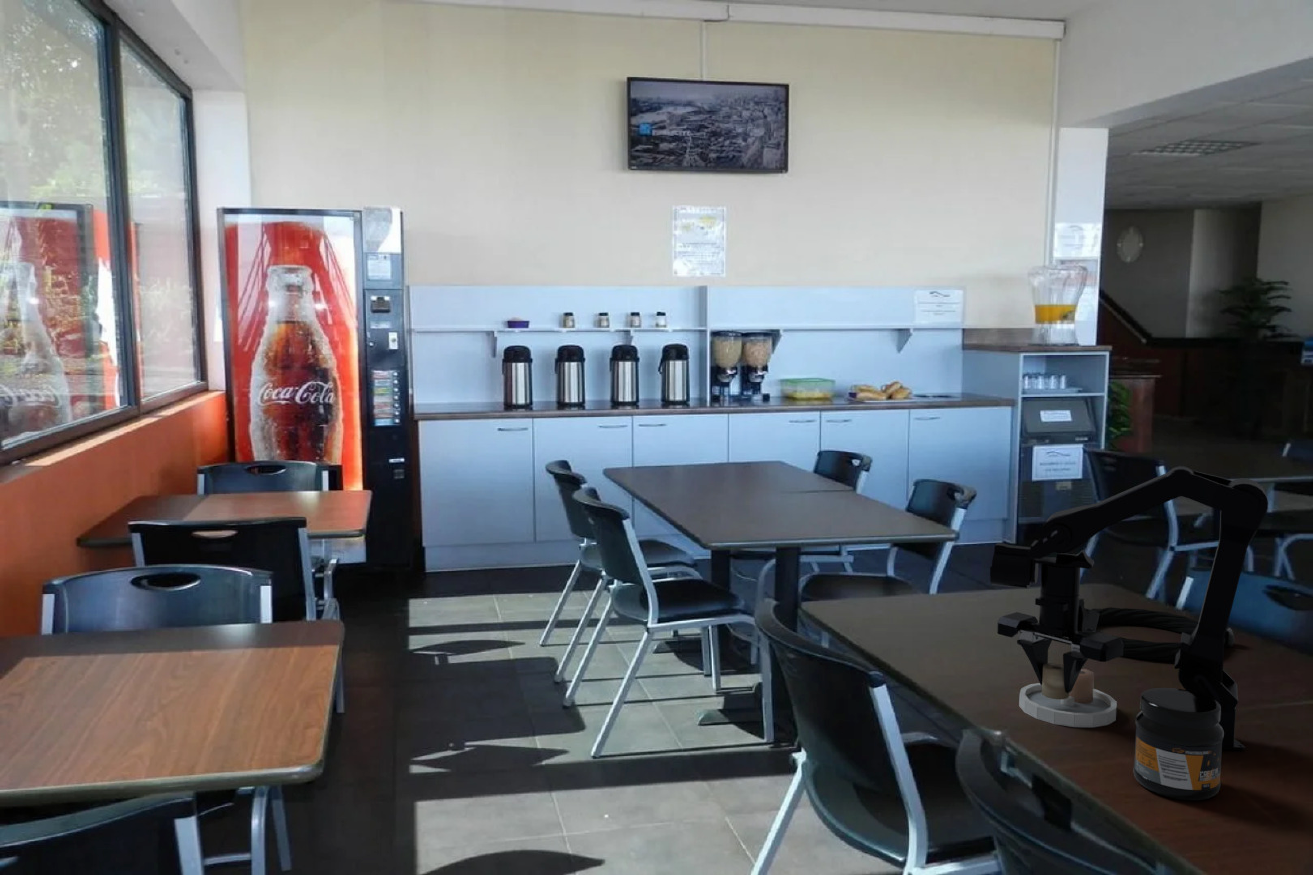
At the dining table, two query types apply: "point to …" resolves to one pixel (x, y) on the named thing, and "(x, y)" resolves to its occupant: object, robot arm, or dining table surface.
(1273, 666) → the dining table surface
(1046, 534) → the robot arm
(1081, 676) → the terracotta bead
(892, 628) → the dining table surface
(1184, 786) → the supplement container
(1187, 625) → the cable lock
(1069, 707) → the ring tray
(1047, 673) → the maple bead
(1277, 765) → the dining table surface
